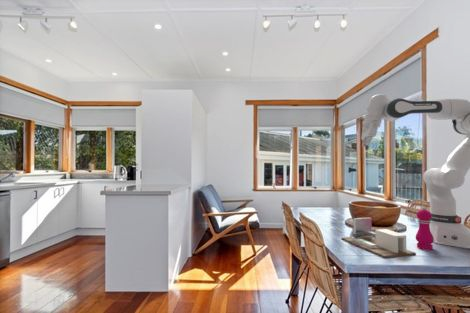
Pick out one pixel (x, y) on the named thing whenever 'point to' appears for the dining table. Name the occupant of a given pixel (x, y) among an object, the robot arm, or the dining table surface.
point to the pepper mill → (424, 230)
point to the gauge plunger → (363, 227)
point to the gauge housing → (391, 240)
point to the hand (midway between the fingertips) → (365, 146)
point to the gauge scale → (364, 242)
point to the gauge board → (378, 248)
